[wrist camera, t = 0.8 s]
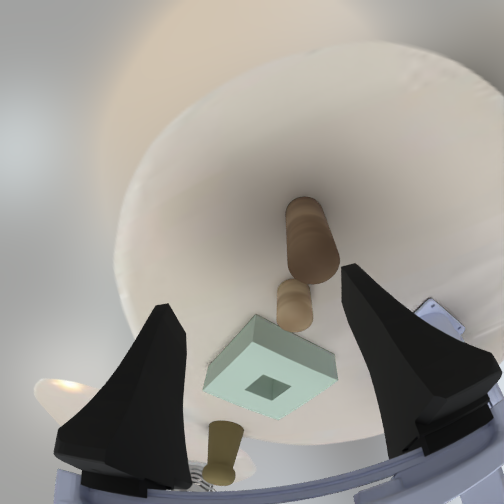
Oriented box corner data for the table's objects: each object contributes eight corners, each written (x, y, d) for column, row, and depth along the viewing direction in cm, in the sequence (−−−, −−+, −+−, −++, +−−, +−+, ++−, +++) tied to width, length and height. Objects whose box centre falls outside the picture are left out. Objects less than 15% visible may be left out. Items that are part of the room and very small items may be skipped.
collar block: (334, 354, 32) (338, 380, 29) (279, 396, 37) (278, 420, 33) (255, 314, 30) (252, 341, 27) (208, 365, 35) (202, 390, 31)
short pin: (316, 288, 28) (320, 315, 24) (296, 309, 29) (298, 337, 26) (290, 272, 27) (291, 298, 24) (270, 295, 29) (269, 322, 25)
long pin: (330, 210, 24) (350, 256, 17) (308, 238, 26) (317, 292, 19) (300, 189, 24) (308, 228, 16) (278, 219, 25) (277, 267, 18)
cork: (211, 433, 45) (200, 485, 35) (206, 418, 42) (194, 476, 32) (244, 437, 44) (237, 490, 35) (243, 422, 42) (235, 481, 32)
